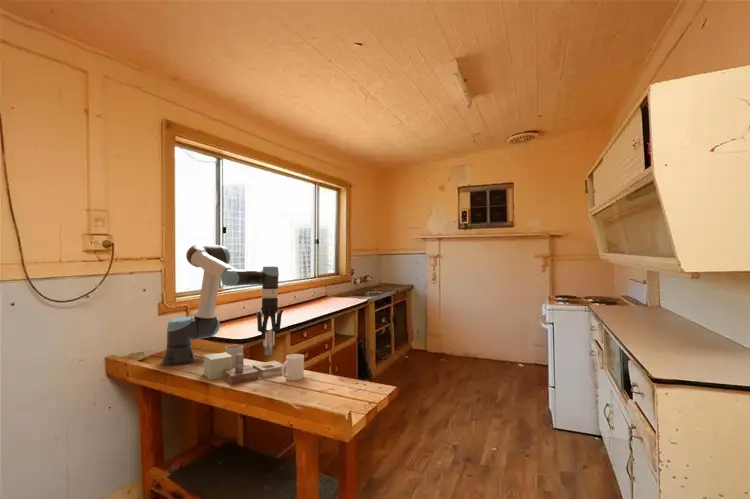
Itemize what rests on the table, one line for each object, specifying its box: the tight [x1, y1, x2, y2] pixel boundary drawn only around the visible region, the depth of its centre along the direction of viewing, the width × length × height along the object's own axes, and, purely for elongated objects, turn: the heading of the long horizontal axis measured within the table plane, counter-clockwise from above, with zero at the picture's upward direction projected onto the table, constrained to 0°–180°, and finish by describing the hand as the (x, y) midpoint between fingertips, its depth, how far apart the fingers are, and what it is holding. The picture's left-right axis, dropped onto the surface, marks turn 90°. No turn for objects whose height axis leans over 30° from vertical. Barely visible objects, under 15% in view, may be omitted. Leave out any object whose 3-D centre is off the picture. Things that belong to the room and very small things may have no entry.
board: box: [222, 353, 260, 385], centre depth 160 cm, size 12×12×12 cm
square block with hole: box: [252, 360, 286, 379], centre depth 169 cm, size 12×12×4 cm
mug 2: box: [280, 353, 305, 382], centre depth 160 cm, size 12×8×10 cm
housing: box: [202, 351, 233, 381], centre depth 165 cm, size 10×10×9 cm
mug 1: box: [224, 344, 244, 368], centre depth 181 cm, size 11×10×10 cm
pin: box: [264, 328, 273, 356], centre depth 168 cm, size 3×3×12 cm
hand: (268, 345), depth 168 cm, fingers closed on pin, 3 cm apart
